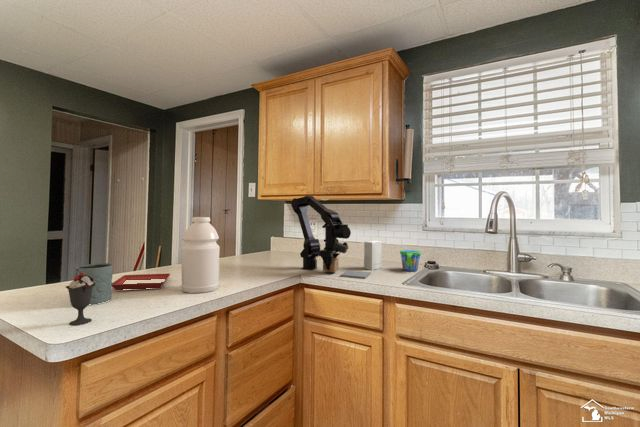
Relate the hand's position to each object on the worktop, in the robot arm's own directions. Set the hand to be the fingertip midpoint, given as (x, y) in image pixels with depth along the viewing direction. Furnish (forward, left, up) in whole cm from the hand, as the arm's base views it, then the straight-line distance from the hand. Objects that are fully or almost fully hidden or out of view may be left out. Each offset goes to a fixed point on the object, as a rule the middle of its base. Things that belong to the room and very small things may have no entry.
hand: (330, 268), depth 155 cm
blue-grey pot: (-56, -77, -2) cm, 95 cm away
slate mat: (+13, 0, -2) cm, 13 cm away
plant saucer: (-61, -55, -3) cm, 82 cm away
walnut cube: (0, 0, -1) cm, 1 cm away
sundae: (-40, -91, -2) cm, 99 cm away
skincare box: (+17, +20, -2) cm, 26 cm away
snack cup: (+36, +24, -2) cm, 43 cm away
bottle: (-36, -50, -2) cm, 62 cm away
